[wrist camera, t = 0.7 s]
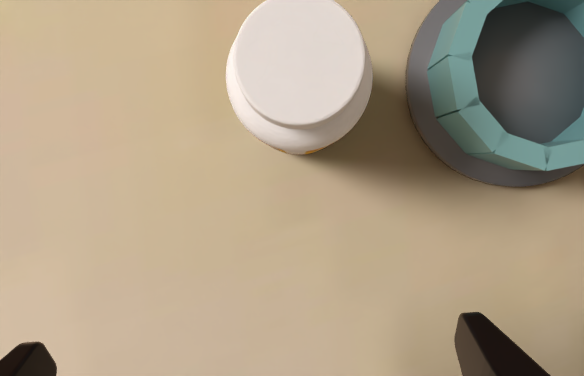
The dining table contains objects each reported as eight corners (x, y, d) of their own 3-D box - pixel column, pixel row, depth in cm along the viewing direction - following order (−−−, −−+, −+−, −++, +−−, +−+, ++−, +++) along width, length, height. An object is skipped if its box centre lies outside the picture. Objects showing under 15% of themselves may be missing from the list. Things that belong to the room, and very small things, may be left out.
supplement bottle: (355, 54, 22) (400, -30, 12) (346, 158, 22) (382, 156, 13) (251, 46, 22) (214, -44, 12) (244, 150, 23) (202, 141, 13)
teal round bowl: (635, 162, 22) (705, 163, 18) (426, 204, 23) (451, 212, 19) (602, -52, 22) (667, -97, 18) (387, -6, 22) (406, -41, 18)
